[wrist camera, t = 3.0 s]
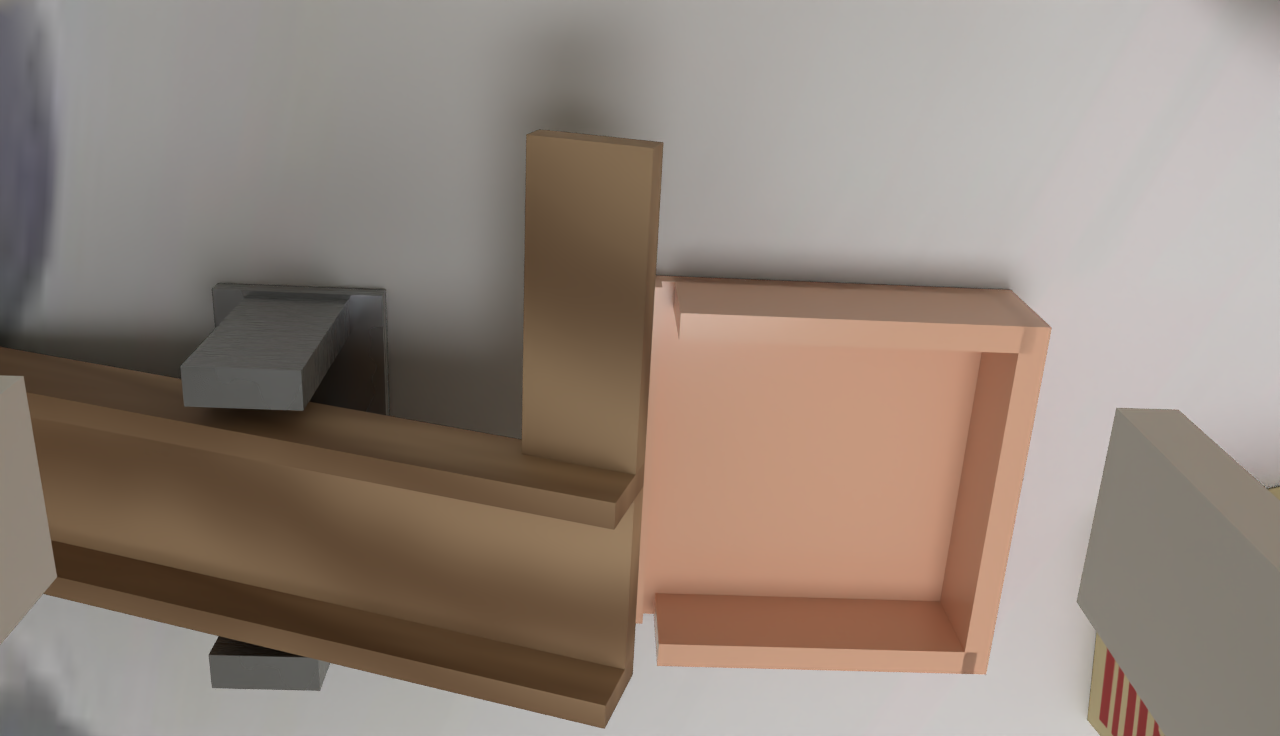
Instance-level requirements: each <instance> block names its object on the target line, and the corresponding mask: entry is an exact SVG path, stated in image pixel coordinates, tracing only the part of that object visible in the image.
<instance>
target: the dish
mask: <svg viewBox="0 0 1280 736" xmlns="http://www.w3.org/2000/svg"><path fill="white" fill-rule="evenodd" d="M1050 334H1051V327H1050V326H1049V325H1048V324H1047V323H1046V322H1045V321H1044V320H1043V319H1042V318H1041V317H1040V316H1039V315H1037V314H1036V313H1035V312H1034V311H1033V310H1032V309H1031V308H1030V307H1029V306H1028V305H1027V304H1026V303H1025V302H1023V301H1022V300H1021V299H1020V298H1019V297H1018V296H1017V295H1016V294H1015V293H1014V292H1013V291H1012V290H1001V289H977V288H952V287H928V286H903V285H879V284H854V283H829V282H805V281H780V280H756V279H731V278H707V277H682V276H658V275H656V279H655V296H654V313H653V331H652V348H651V365H650V382H649V400H648V417H647V434H646V451H645V469H644V486H643V503H642V520H641V538H640V555H639V572H638V590H637V607H636V623H642V619H643V613H648V614H654V627H655V641H656V655H657V666H685V667H724V668H762V669H801V670H840V671H878V672H917V673H956V674H986V671H987V666H988V661H989V655H990V650H991V645H992V640H993V634H994V629H995V624H996V618H997V613H998V608H999V603H1000V597H1001V592H1002V587H1003V582H1004V576H1005V571H1006V566H1007V560H1008V555H1009V550H1010V545H1011V539H1012V534H1013V529H1014V524H1015V518H1016V513H1017V508H1018V502H1019V497H1020V492H1021V487H1022V481H1023V476H1024V471H1025V465H1026V460H1027V455H1028V450H1029V444H1030V439H1031V434H1032V429H1033V423H1034V418H1035V413H1036V407H1037V402H1038V397H1039V392H1040V386H1041V381H1042V376H1043V371H1044V365H1045V360H1046V355H1047V349H1048V344H1049V339H1050Z"/></svg>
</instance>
